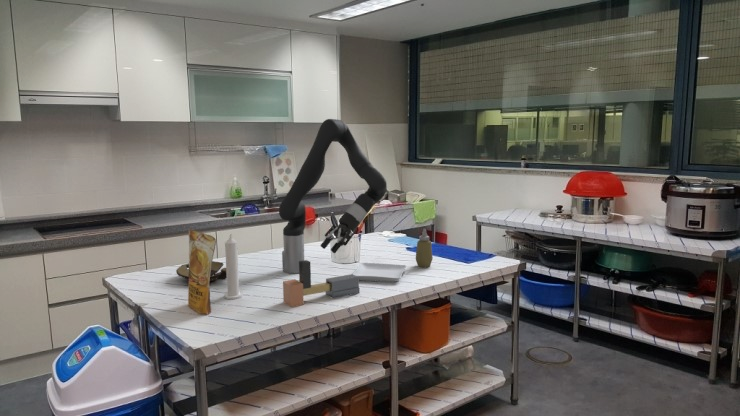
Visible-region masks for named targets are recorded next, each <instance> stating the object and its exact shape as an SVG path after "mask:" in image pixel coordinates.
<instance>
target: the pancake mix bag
mask: <svg viewBox="0 0 740 416" xmlns="http://www.w3.org/2000/svg"><path fill="white" fill-rule="evenodd" d="M187 233H188V263H189V268H188V269H189V280H188V289H187V290H188V291H187V292H188V295H187V296H188V297H187V298H188V299H187V301H188V302H187V303H188V307H189V308H190V309H191V310H193V311H195V312H196V313H197V314H199V315H209V314H210V313H212V307H211V289H210V288H211V287H210V285H211V284H210V282H211V281H210V277H211V276H210V273H211V268H212V261H213V259H214V253H215V250H216V243H217V242H216V241H217V239H216V238H215V237H214V236H212V235H210V234H207V233H203V232H201V231H199V230H198V231H197V230H193V229H190V230H188V231H187Z"/></svg>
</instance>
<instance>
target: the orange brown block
mask: <svg viewBox="0 0 740 416" xmlns="http://www.w3.org/2000/svg"><path fill="white" fill-rule="evenodd" d="M282 291H283V293H282V294H283V296H282V297H283V300H282V301H283V303H284V304H286V305H288V307H289V308H290V307H291V308H293V307H299V306H303V305H304V303H305V302H304V296H303V284H302V283H301V282H299V280H297V279H295V278H294V279H290V280H283V281H282Z"/></svg>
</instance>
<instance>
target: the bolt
mask: <svg viewBox="0 0 740 416" xmlns="http://www.w3.org/2000/svg"><path fill="white" fill-rule="evenodd" d="M311 267H312V266H311V261H309V260H307V259H304V261H299V273H298V274H299V277H298V278H299V280H298V281H299V282H301V283H302V284H303V297H304V296H309V295H314V294H320V293H326V291H331V283H330V282H326V281H325V282H322V283H315V284H311V283H312V279H311V277H312V275H311V272H312V271H311V269H312V268H311Z"/></svg>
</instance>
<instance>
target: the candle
mask: <svg viewBox="0 0 740 416" xmlns="http://www.w3.org/2000/svg"><path fill="white" fill-rule="evenodd" d="M224 247H225V248H224V249H225V268H226V274H227V278H226V290H227V291H226V293H225V294H224V295H223V297H224V299H226V300H237V299H238V300H239V299H241V298H242V297H244V295H243V293H242V292H241V291H240V278H239V258H238V257H239V255H238V254H239V253H238V241H237V240H235V239H234V237H233V234H232V233H230V234H229V237H228V239H227V240H226V241H225V242H224Z"/></svg>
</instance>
